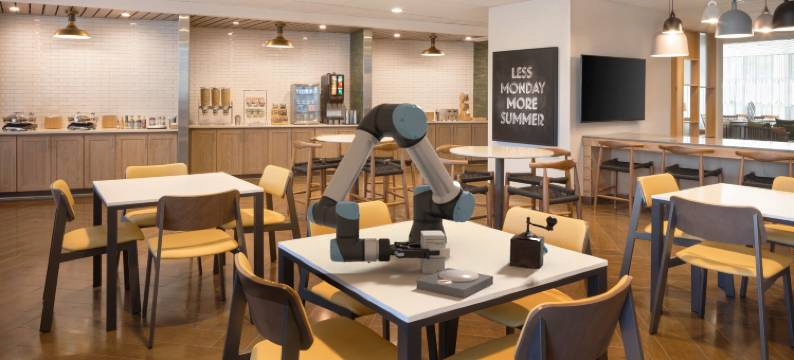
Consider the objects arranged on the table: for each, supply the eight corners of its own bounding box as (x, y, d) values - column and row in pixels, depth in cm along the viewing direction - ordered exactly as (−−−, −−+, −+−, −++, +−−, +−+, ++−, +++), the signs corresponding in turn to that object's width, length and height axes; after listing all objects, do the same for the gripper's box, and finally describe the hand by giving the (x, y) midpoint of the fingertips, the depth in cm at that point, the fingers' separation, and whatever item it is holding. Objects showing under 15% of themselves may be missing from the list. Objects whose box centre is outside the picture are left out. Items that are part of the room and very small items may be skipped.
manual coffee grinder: (507, 266, 212) (509, 214, 210) (514, 259, 222) (515, 209, 220) (554, 271, 206) (557, 217, 204) (559, 263, 216) (561, 212, 214)
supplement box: (419, 267, 209) (420, 230, 208) (441, 267, 210) (442, 230, 208) (422, 273, 202) (423, 235, 200) (445, 273, 202) (445, 234, 201)
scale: (416, 288, 185) (416, 278, 185) (447, 275, 200) (447, 266, 200) (464, 298, 176) (464, 287, 176) (492, 283, 191) (493, 274, 191)
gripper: (376, 254, 214) (442, 253, 216) (379, 269, 194) (452, 268, 196) (376, 232, 213) (442, 231, 215) (379, 245, 193) (453, 244, 195)
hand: (447, 249), depth 205 cm, fingers closed on supplement box, 7 cm apart
